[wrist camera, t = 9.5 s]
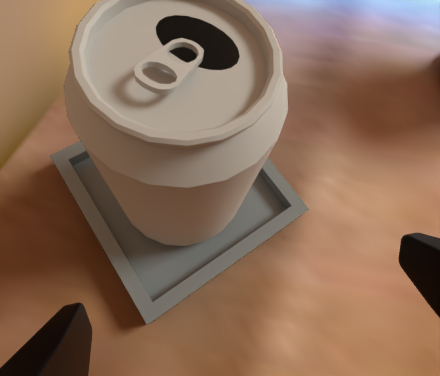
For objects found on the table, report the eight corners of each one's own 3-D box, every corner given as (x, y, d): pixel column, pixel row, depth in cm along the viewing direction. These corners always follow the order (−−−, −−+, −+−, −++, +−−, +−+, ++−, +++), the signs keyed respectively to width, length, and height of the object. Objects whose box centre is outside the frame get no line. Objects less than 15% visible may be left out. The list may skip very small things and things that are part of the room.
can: (258, 175, 21) (343, 26, 10) (201, 272, 18) (229, 219, 7) (165, 121, 22) (146, -74, 11) (97, 208, 19) (-26, 68, 8)
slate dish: (149, 323, 18) (147, 324, 16) (58, 166, 20) (49, 155, 19) (300, 215, 21) (309, 209, 20) (205, 93, 24) (206, 80, 22)
